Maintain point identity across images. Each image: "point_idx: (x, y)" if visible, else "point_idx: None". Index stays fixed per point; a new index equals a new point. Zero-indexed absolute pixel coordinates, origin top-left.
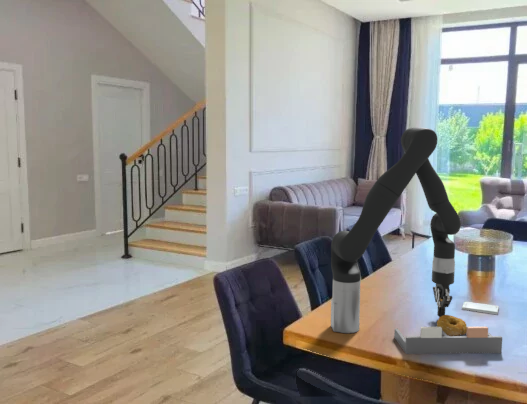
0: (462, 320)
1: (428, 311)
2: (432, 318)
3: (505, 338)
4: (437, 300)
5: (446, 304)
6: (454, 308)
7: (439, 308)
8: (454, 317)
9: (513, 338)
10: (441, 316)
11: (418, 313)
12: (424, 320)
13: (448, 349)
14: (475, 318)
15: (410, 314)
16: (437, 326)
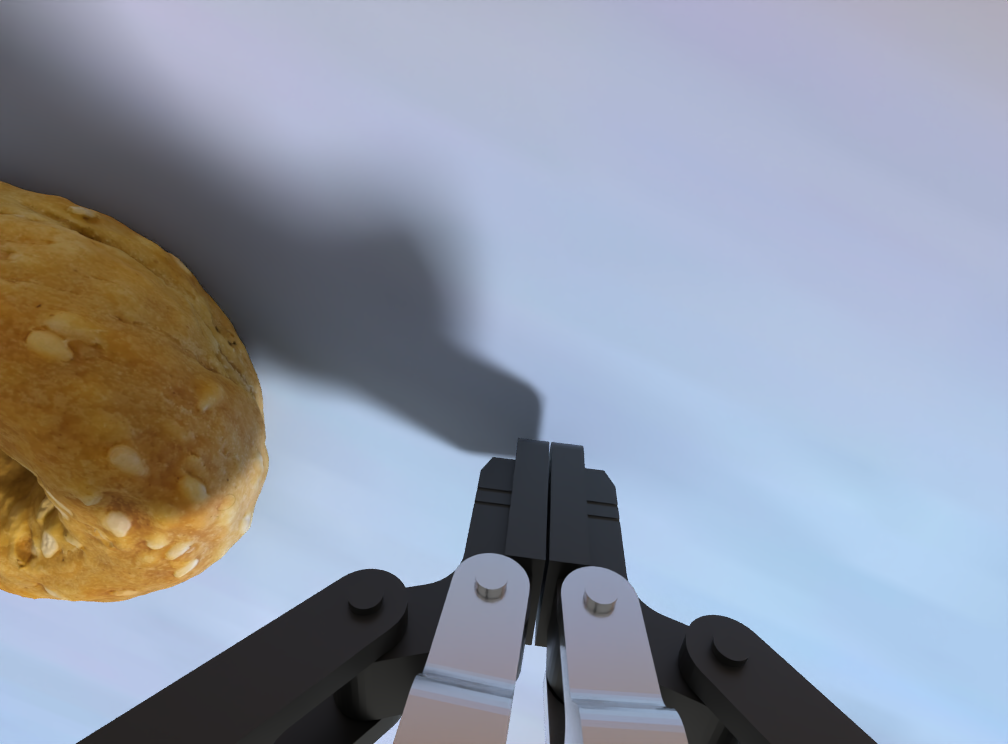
0: (29, 588)
1: (922, 435)
2: (600, 351)
3: (25, 694)
4: (617, 675)
5: (335, 699)
6: (872, 731)
7: (504, 539)
8: (93, 550)
9: (44, 732)
10: (7, 366)
11: (910, 230)
12: (528, 176)
13: None
14: (519, 739)
15: (933, 24)
16: (3, 194)
